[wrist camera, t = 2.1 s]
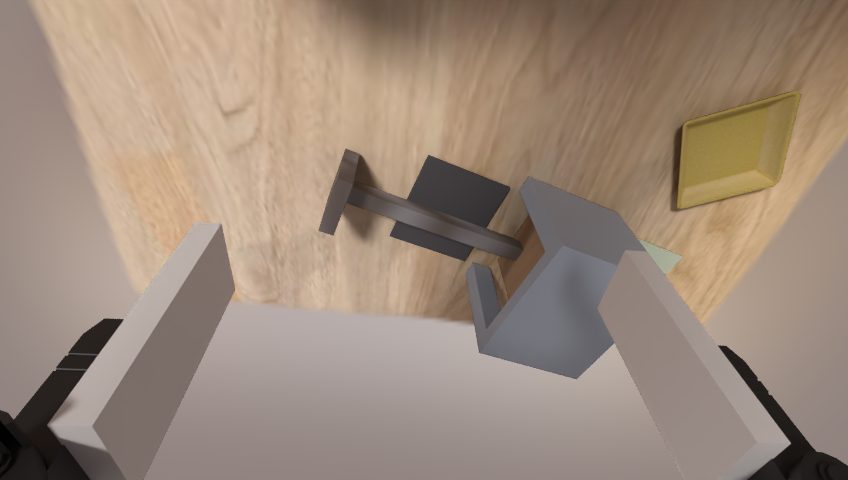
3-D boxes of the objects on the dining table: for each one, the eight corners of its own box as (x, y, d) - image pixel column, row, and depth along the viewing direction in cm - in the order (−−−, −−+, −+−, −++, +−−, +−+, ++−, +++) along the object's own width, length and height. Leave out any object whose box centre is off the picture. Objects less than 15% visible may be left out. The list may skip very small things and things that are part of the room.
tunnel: (465, 273, 44) (479, 352, 36) (528, 176, 37) (563, 245, 29) (546, 299, 46) (576, 379, 38) (618, 213, 40) (673, 286, 32)
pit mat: (390, 234, 41) (390, 236, 40) (428, 154, 36) (428, 156, 36) (464, 259, 43) (464, 261, 42) (509, 187, 38) (510, 188, 38)
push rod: (326, 201, 38) (315, 241, 33) (347, 143, 35) (337, 178, 30) (547, 277, 44) (565, 320, 39) (582, 233, 41) (606, 274, 36)
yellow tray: (764, 174, 38) (780, 185, 37) (665, 199, 40) (677, 211, 38) (783, 81, 34) (803, 89, 32) (670, 113, 35) (683, 122, 33)
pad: (566, 293, 46) (566, 295, 46) (619, 230, 41) (620, 232, 41) (624, 313, 48) (625, 314, 48) (681, 255, 43) (683, 256, 43)
